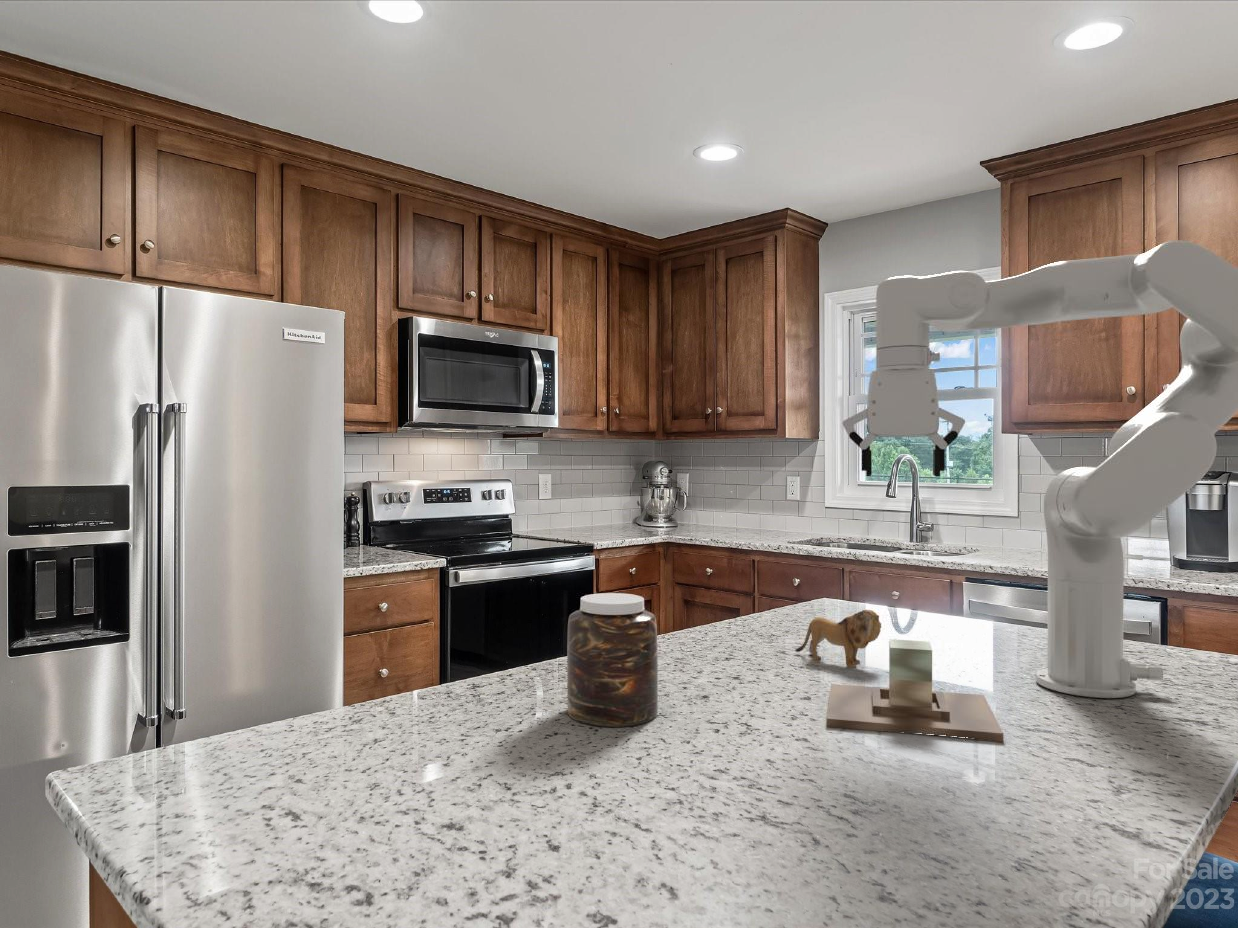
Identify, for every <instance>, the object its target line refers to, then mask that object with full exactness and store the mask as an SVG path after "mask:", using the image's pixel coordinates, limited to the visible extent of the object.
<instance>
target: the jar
mask: <svg viewBox="0 0 1238 928" xmlns="http://www.w3.org/2000/svg"><path fill="white" fill-rule="evenodd" d="M567 622H568V623H567V642H566V643H567V645H566V648H567V649H566V650H567V653H566V654H567V655H566V656H567V657H566V658H567V659H566V660H567V661H566V665H567V667H566V669H567V670H566V672H567V673H566V674H567V678H566V679H567V683H566V684H567V685H566V686H567V689H566V691H567V693H566V695H567V696H566V697H567V698H566V699H567V701H566V702H567V714H568V716H569V717H570V719H572V720H575V721H576V722H578V723H582V724H585V725H589V726H590V725H591V726H596V727H602V728H603V727H607V728H621V727H633V726H638V725H643V724H646V723H649V722H651V721H653V720H654V719H656V717H657V716H658V708H659V707H658V703H659V702H658V701H659V699H658V697H659V696H658V693H659V692H658V690H659V689H658V687H659V685H658V684H659V683H658V678H659V677H658V675H659V669H658V665H659V663H658V660H659V659H658V658H659V657H658V655H659V654H658V626H657V623H658V622H657V618H656V615H655V614H653V613H652V612H650V611H648V610H646V609H645V598H644V597H643V596H641V595H637V594H632V593H622V592H621V593H620V592H618V593H617V592H603V593H602V592H601V593H593V594H592V593H591V594H585V595H584V596H581V597H580V607H579V610H575V611H573V612H572V613H570V614H569V616H568V621H567Z"/></svg>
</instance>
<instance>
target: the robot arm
mask: <svg viewBox="0 0 1238 928" xmlns="http://www.w3.org/2000/svg"><path fill="white" fill-rule="evenodd" d="M875 295H876V296H875V297H876V298H875V301H876V302H875V303H876V305H875V307H876V308H875V309H876V312H875V313H876V314H875V315H876V319H875V321H876V325H875V332H876V334H875V335H876V336H875V337H876V340H875V343H876V348H875V351H876V353H875V357H876V358H875V359H876V360H875V361H876V362H875V363H876V364H875V365H876V367H875V370H873V371H871V373H870V376H869V382H868V389H867V390H868V391H867V400H866V401H867V405H866V408H865V409H863V410H862V411H860V412H858V413H855V414H854V415H852V416H850V417H847V419H844V420H843V421H842V426H843V427H844V430H845V432H846V433H847V436H848V438H849V439H850V440H851V441H853V442H854V444H855V445H856V446H857V447H859V448H860V450H861V472H863V471H865V472H866V473H865V476H866V477H871V476H872V449H871V444H872V443H874V441H875V440H876V439H877V438H922V437H924V438H925V437H927V438H928V439H930V441H931V442H932V444H933V445H934V450H932V456H933V457H932V475H933V476H934V477H937V478H938V477H941V472H944V471H945V469H946V467H945V465H946V463H945V460H946V459H945V458H946V453H945V450H946V449H947V448H948V446H949V445H951V443H953V442H954V441H955V440H956V439H957V438H958V437H959V434H960V433H961V431H962V429H963V427H964V426H965V424H966V420H965V419H964V418H962V417H960V416H958V415H956V414H954V413H953V412H949V411H947V410H946V409H943V408H941V407H939V406H940V405H939V393H938V386H937V379H936V373H935V370H934V369H933V368H930V366H931V365H932V364H933V363H934V364H935V363H936V362H937V363H939V362H940V361H941V354H940V352H935V351H932V350H930V349H931V348H930V326H931V327H932V328H934V329H935V330H938V331H940V332H945V333H962V332H975V331H987V330H988V331H989V330H997V329H1004V328H1005V329H1006V328H1013V327H1021V326H1034V325H1035V326H1036V325H1044V324H1051V323H1057V322H1058V323H1059V322H1069V321H1079V320H1080V321H1081V320H1087V319H1088V320H1089V319H1102V318H1113V317H1114V318H1115V317H1129V316H1142V315H1150V314H1156V313H1161V312H1164V311H1166V310H1170V309H1172V308H1173V309H1174V310H1176V311H1177V312H1178V313H1180V314H1181V315H1182V316H1184V317H1185V318H1187V319H1186V320H1185V322H1184V324H1183V326H1182V328H1181V330H1180V335H1179V348H1180V353H1181V354H1180V355H1181V369H1180V371H1179V373H1178V375H1177V378H1176V379H1175V380H1174V381H1173V382H1172V383H1171V384H1170V385H1169V386H1167V388H1166V389H1165V390H1164V391H1163V392H1162V393H1161V394H1159V395H1158V396H1157V397H1156V398H1155V399H1154V400H1152V401H1151V402H1150V403H1149V404H1148V405H1146V406H1145V407H1144V408H1143V409H1142V410H1141V411H1139V412H1138V413H1137V414H1136V415H1134V416H1133V417H1132V418H1131V419H1129V420H1128V421H1127V422H1125V423H1124V424H1122V426H1120V428H1118V429H1117V430H1116V431H1115V433H1114V434H1113V436H1111V439H1110V441H1109V443H1108V448H1107V456H1108V457H1107V459H1105V460H1104V461H1103V462H1101V464H1099V465H1098V466H1078V467H1077V466H1076V467H1073V468H1069V469H1066V470H1063V471H1062V472H1059V474H1057V475H1055V477H1054V478H1053V479H1052V480H1051V481H1050V483H1049V485H1048V486H1047V488H1046V490H1045V494H1044V497H1043V515H1044V517H1043V519H1044V524H1045V525H1044V526H1045V531H1046V543H1047V639H1046V640H1047V642H1046V644H1047V653H1046V654H1047V663H1046V665H1047V667H1046V668H1042V669H1039V670H1038V671H1036V672H1035V682H1036V683H1037V684H1039V685H1040V686H1041V687H1044V688H1046V689H1049V690H1051V691H1055V692H1059V693H1063V694H1068V695H1071V696H1072V695H1073V696H1077V697H1085V698H1086V697H1087V698H1097V699H1118V698H1120V699H1121V698H1127V697H1131V696H1133V695H1134V694H1136V693H1137V684H1136V683H1135V682H1137V680H1138V679H1144V680H1150V681H1160V682H1161V681H1163V679H1164V671H1163V668H1162V666H1160V665H1159V666H1158V665H1147V664H1146V663H1141V662H1139V663H1138V662H1131V661H1130V660H1129V659H1127V658H1126V657H1125V656H1124V587H1125V586H1124V581H1125V562H1124V561H1125V560H1124V551H1123V544H1122V539H1121V538H1124V537H1128V536H1130V535H1132V534H1135V533H1136V532H1137V531H1140V530H1141V529H1142V528H1143V527H1144V526H1146V525H1148V524H1149V523H1150V522H1152V520H1154V519H1155V518H1156V517H1157V516H1158V515H1160V514H1161V513H1163V511H1165V510H1166V509H1167V508H1168V507H1170V506H1171V505H1172V504H1174V503H1175V501H1177V500H1178V499H1179V498H1180V497H1182V496H1183V495H1184V494H1185V493H1187V491H1189V490H1190V489H1192V487H1194V486H1195V485H1196V484H1197V483H1198V482H1199V481H1201V480H1202V479H1203V478H1204V476H1206V474H1207V473H1208V471H1209V470H1210V469H1211V467H1212V465H1213V464H1214V461H1215V458H1216V456H1217V448H1218V445H1217V440H1216V437H1215V434H1216V433H1217V432H1218V431H1219V430H1220V429H1221V428H1222V427H1224V426H1225V424H1227V423H1228V422H1229V421H1230V420H1231V419H1232V418H1233V417H1234V416H1235V414H1237V412H1238V268H1237V267H1236V266H1234V265H1233V264H1231V263H1230V262H1229V261H1227V260H1226V259H1224V258H1222V257H1220V256H1219V255H1218V254H1216V253H1215V252H1213V251H1211V250H1209V249H1207V248H1205V247H1204V246H1201V245H1199V244H1198V243H1196V242H1191V241H1188V240H1181V239H1180V240H1176V239H1175V240H1170V241H1166V242H1163V243H1161V244H1159V245H1157V246H1155V247H1154V248H1152V249H1150V250H1148V251H1147V252H1144V253H1137V254H1126V255H1123V254H1122V255H1117V256H1107V257H1105V256H1104V257H1094V258H1085V259H1084V258H1083V259H1071V260H1062V261H1057V262H1054V263H1050V264H1047V265H1043V266H1041V267H1038V268H1035V269H1033V270H1031V271H1028V272H1025V273H1022V274H1018V275H1016V276H1011V277H1007V278H1002V279H997V280H990V281H989V280H988V281H986V280H985V279H984V278H983V277H982V276H981V275H979V274H978V273H975V272H972V271H970V270H969V271H968V270H967V271H966V270H957V271H956V270H955V271H951V272H945V273H941V274H934V275H927V276H914V275H904V276H903V275H902V276H894V277H889V278H886V279H884V280H882V281H881V282H879V284H878V285H877V287H876V293H875ZM940 419H942V420H944V421H946V422H948V423H950V424H951V428H950V430H949V431H948V433H946V434H945V436H944V437H942V435H940V434H939V433H938V432H939V429H940V428H939V427H940ZM864 420H866V429H867V433H868V434H867V435H866V436H865V437H864V438H862V437H861V436H860V435H859V434H858V433H857V430H856V429H855V427H854V426H855V425H856V424H858V423H860V422H862V421H864Z"/></svg>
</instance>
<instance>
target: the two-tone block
mask: <svg viewBox="0 0 1238 928" xmlns="http://www.w3.org/2000/svg"><path fill="white" fill-rule="evenodd" d="M888 643H889V644H888V645H889V646H888V647H889V657H888V659H889V661H888V662H889V665H888V666H889V667H888V668H889V670H888V679H889V681H888V682H889V683H888V688H889V702H890V705H898V706H911V707H924V708H932V691H933V649H932V645H931V642H930V641H928V640H926V641H924V640H909V639H908V640H907V639H889V642H888Z"/></svg>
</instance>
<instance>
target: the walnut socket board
mask: <svg viewBox="0 0 1238 928" xmlns="http://www.w3.org/2000/svg"><path fill="white" fill-rule="evenodd" d="M829 689H830V690H829V697H828V705H827V714H826V727H827V728H828V727H829V728H836V729H837V728H840V729H848V730H849V729H850V730H860V731H874V732H883V731H888V732H887V733H894V732H904V733H903V734H906V733H922V734H934V735H946V736H957V737H965V738H966V737H968V738H974V739H973V740H975V739H983V740H982V741H986V740H994V741H993V742H999V743H1004V732H1003V730H1002V728H1001V726H1000V724H999V722H998V720H997V717H995V714H994V713H993V711H992V708H991V706H990V704H989V703H988V701H987V699H986V697H985V695H984V694H974V693H960V692H948V691H940V690H939V691H938V690H932V708H924V707H911V706H898V705H890V702H889V687H886V686H866V685H865V686H864V685H851V684H838V683H830V688H829Z"/></svg>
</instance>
